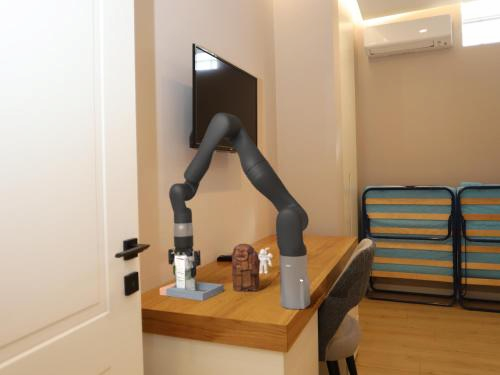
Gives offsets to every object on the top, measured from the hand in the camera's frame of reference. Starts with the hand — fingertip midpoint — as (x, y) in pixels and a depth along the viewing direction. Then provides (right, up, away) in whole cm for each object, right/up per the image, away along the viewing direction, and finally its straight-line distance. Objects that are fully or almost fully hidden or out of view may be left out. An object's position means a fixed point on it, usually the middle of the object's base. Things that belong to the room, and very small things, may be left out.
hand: (184, 276), depth 154 cm
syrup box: (0, -6, 0) cm, 6 cm away
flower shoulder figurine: (+32, -5, +28) cm, 43 cm away
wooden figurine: (+24, -6, +1) cm, 24 cm away
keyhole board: (+3, -6, -2) cm, 7 cm away
